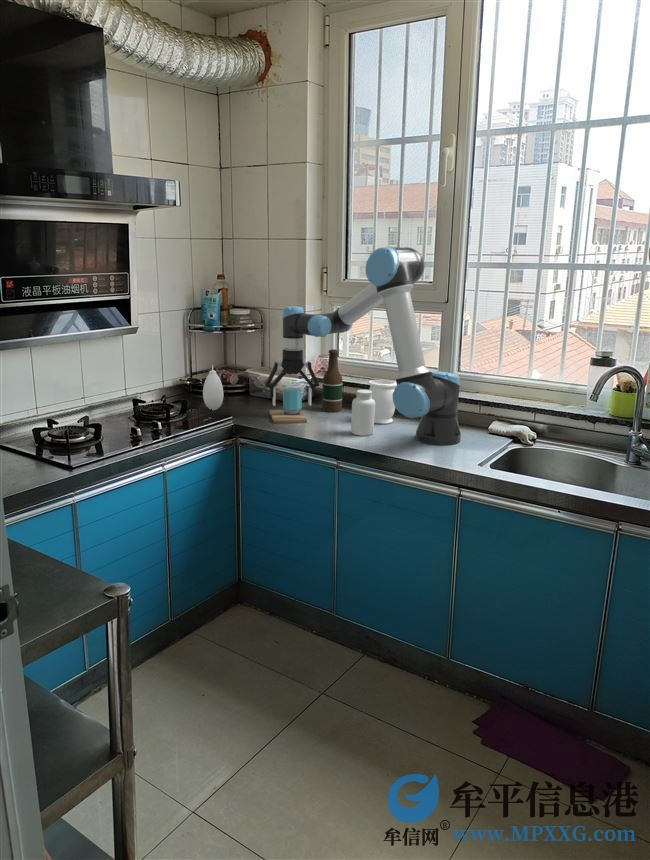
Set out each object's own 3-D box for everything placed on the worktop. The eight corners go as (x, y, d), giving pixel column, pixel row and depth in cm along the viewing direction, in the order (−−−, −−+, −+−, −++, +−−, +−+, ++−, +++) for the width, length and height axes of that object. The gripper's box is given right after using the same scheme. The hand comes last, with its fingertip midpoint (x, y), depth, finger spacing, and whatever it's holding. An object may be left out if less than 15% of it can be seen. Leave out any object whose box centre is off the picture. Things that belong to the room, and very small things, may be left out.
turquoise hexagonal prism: (302, 409, 249) (302, 391, 247) (284, 410, 248) (284, 391, 246) (299, 405, 255) (299, 387, 253) (282, 406, 254) (282, 388, 252)
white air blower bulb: (203, 407, 262) (202, 362, 258) (223, 407, 264) (222, 362, 259) (203, 412, 255) (202, 366, 250) (224, 412, 256) (223, 365, 252)
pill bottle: (372, 437, 227) (374, 394, 223) (349, 435, 229) (350, 392, 225) (375, 431, 235) (377, 389, 231) (352, 429, 236) (354, 388, 232)
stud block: (306, 422, 244) (307, 399, 241) (274, 423, 241) (274, 400, 239) (300, 412, 259) (300, 390, 257) (269, 412, 257) (269, 390, 254)
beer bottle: (322, 407, 267) (323, 348, 261) (341, 408, 267) (343, 348, 260) (321, 412, 260) (322, 351, 253) (341, 412, 259) (343, 351, 253)
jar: (361, 420, 248) (363, 381, 244) (380, 416, 255) (382, 378, 251) (382, 426, 241) (384, 385, 237) (401, 422, 247) (403, 382, 244)
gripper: (324, 347, 251) (322, 402, 257) (257, 347, 247) (257, 403, 253) (327, 350, 244) (326, 406, 250) (259, 350, 240) (259, 407, 245)
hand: (291, 405), depth 251 cm, fingers open, 13 cm apart
